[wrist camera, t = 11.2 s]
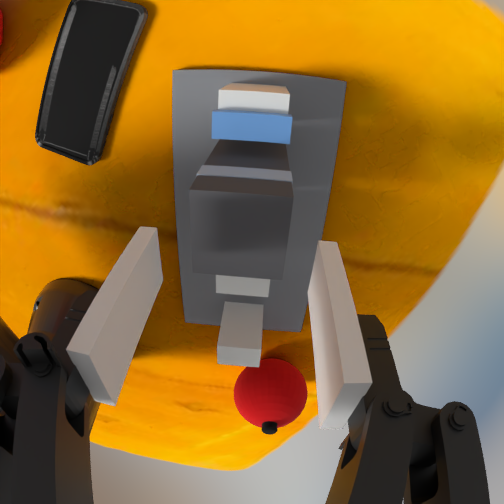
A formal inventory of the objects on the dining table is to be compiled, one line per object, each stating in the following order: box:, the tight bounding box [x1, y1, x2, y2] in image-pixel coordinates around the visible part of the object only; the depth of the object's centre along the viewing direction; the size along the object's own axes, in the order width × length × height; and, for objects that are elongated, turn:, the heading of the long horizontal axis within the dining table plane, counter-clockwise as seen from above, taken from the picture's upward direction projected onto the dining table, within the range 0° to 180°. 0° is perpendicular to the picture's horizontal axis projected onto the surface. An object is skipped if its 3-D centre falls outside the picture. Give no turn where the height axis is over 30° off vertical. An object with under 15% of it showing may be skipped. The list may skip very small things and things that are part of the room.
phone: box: [35, 0, 148, 165], centre depth 22 cm, size 8×1×15 cm
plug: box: [189, 139, 294, 280], centre depth 20 cm, size 5×5×12 cm
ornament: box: [234, 358, 307, 434], centre depth 37 cm, size 9×9×10 cm
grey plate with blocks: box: [172, 69, 347, 367], centre depth 26 cm, size 13×26×8 cm, turn 177°
